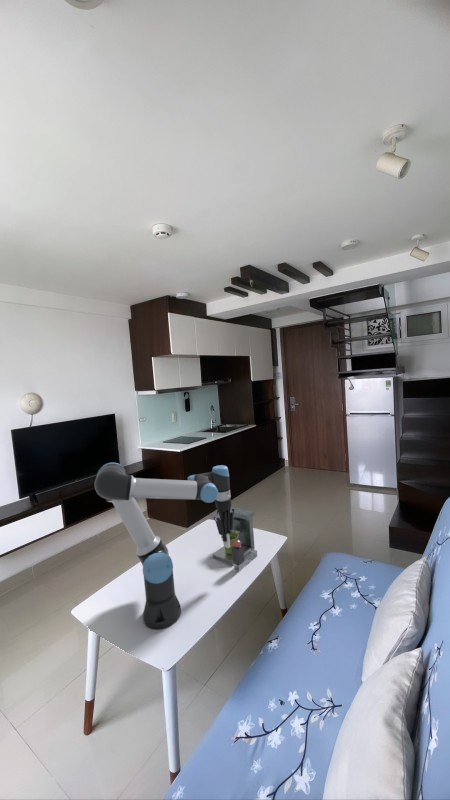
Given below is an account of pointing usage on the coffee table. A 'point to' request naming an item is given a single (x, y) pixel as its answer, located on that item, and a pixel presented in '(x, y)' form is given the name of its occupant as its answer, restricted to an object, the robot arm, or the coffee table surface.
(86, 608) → the coffee table surface
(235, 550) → the lever
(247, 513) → the frame
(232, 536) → the plant pot
